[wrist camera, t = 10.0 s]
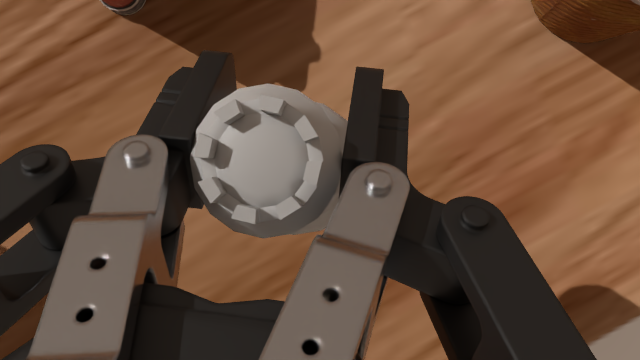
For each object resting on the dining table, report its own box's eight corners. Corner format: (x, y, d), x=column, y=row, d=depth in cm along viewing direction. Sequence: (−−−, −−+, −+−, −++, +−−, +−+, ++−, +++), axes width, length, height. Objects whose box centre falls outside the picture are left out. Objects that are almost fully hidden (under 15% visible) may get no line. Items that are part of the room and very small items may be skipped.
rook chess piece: (262, 251, 19) (191, 306, 11) (216, 129, 19) (112, 93, 11) (384, 205, 18) (406, 227, 10) (338, 82, 18) (324, 9, 10)
